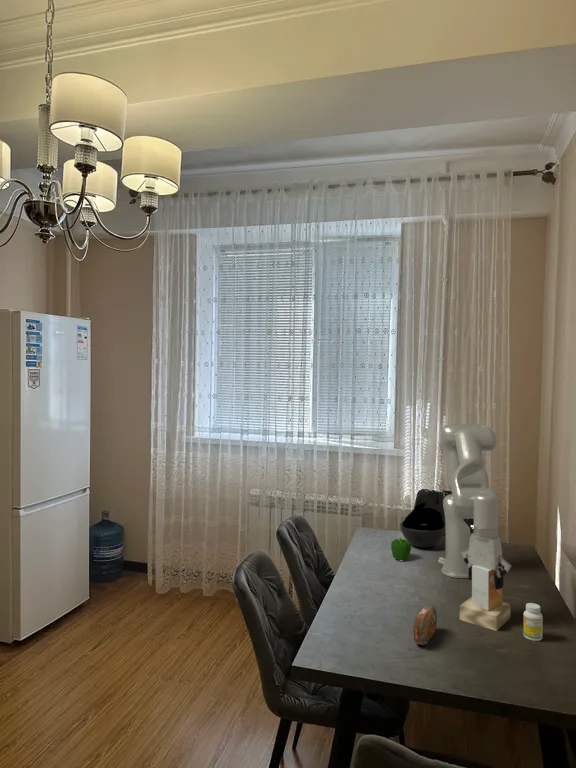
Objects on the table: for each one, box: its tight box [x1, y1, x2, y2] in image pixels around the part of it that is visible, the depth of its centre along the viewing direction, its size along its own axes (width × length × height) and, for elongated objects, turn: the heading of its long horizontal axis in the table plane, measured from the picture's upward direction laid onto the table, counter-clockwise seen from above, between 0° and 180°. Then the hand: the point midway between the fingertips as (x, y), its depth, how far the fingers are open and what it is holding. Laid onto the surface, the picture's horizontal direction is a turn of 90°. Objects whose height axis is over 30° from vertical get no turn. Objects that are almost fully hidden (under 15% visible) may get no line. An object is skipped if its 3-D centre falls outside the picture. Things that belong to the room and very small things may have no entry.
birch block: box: [459, 596, 512, 632], centre depth 181 cm, size 12×12×5 cm
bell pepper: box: [390, 536, 412, 561], centre depth 238 cm, size 8×8×10 cm
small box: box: [471, 565, 504, 611], centre depth 181 cm, size 8×6×13 cm
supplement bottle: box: [522, 602, 544, 642], centre depth 168 cm, size 5×5×10 cm
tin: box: [412, 605, 438, 646], centre depth 168 cm, size 15×3×8 cm, turn 148°
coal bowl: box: [399, 502, 445, 549], centre depth 255 cm, size 20×20×19 cm
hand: (485, 583), depth 181 cm, fingers open, 9 cm apart
